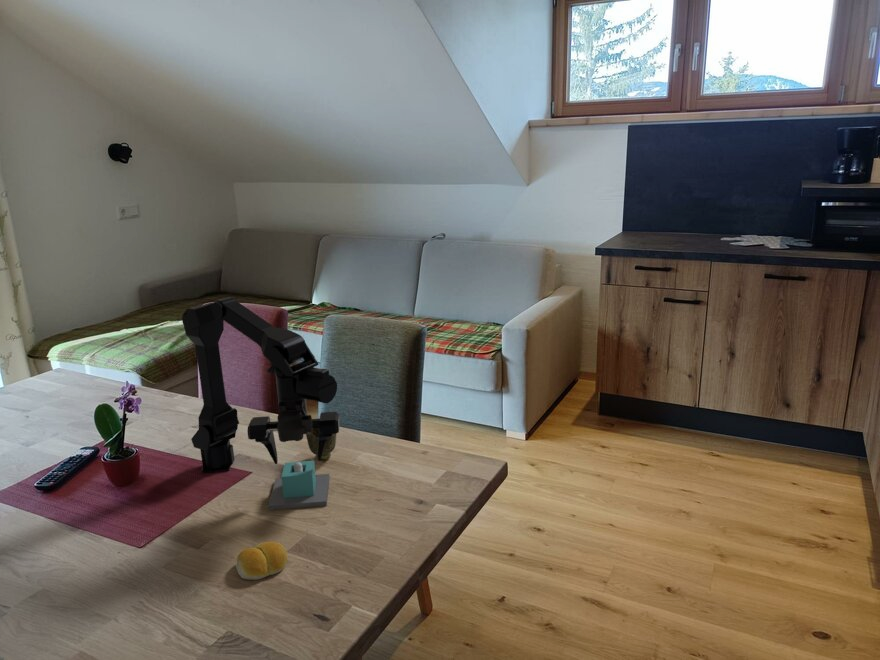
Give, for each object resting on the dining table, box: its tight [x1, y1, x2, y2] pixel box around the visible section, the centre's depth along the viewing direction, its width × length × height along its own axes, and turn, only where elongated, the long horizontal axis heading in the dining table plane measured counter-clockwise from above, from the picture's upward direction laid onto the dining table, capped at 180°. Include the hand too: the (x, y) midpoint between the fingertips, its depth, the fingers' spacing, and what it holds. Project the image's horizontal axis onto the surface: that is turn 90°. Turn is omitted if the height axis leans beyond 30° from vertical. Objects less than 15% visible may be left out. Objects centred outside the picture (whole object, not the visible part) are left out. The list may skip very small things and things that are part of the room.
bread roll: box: [235, 541, 289, 581], centre depth 118 cm, size 8×9×4 cm
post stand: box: [268, 461, 330, 511], centre depth 142 cm, size 12×12×7 cm
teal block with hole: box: [281, 460, 316, 498], centre depth 142 cm, size 6×6×5 cm
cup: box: [305, 428, 337, 462], centre depth 158 cm, size 8×7×8 cm
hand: (298, 461), depth 141 cm, fingers open, 9 cm apart
